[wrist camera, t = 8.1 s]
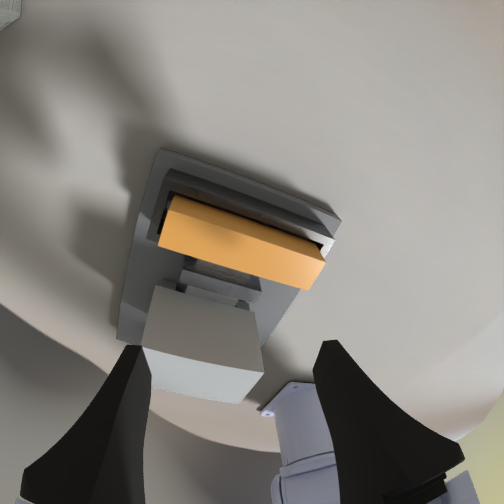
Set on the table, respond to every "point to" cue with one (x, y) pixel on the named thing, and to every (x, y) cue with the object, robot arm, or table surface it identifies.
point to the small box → (9, 12)
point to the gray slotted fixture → (220, 277)
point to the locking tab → (240, 244)
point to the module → (201, 346)
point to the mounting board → (169, 262)
